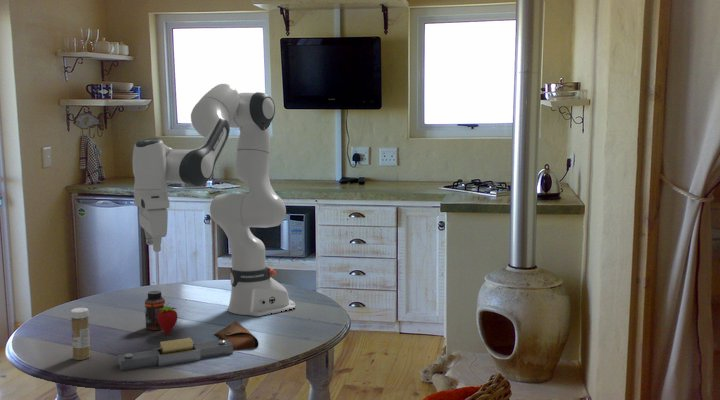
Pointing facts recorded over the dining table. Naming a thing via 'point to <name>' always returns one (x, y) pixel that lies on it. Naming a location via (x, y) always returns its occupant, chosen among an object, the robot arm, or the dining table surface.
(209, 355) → the grey slotted link bar
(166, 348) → the khaki rectangular block
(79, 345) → the sprinkles bottle
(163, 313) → the strawberry
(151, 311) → the supplement bottle
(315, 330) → the dining table surface
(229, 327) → the sunglasses case
